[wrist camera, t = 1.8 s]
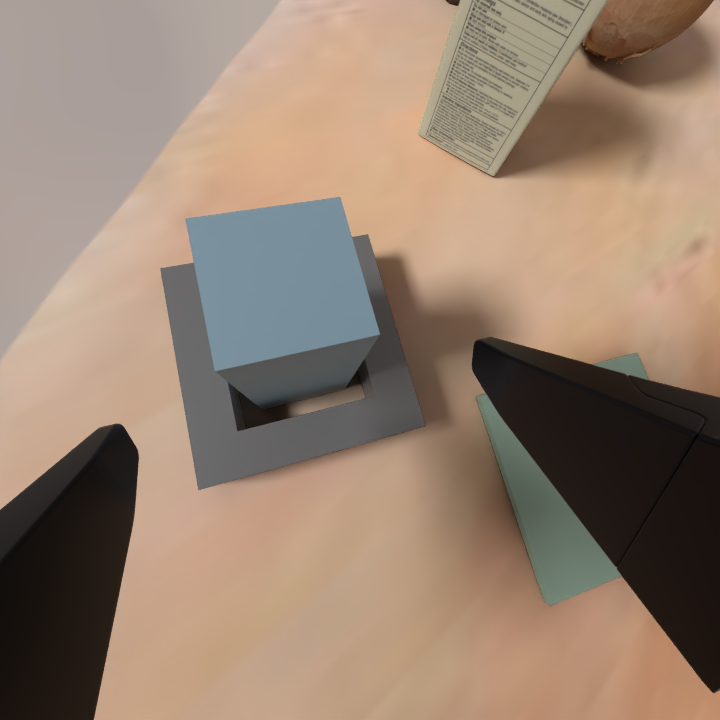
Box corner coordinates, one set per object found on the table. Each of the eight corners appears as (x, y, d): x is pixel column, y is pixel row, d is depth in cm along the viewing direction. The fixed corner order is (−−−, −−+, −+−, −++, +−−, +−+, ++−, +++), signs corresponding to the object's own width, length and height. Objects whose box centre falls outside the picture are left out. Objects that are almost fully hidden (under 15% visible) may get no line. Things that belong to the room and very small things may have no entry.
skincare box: (516, 139, 26) (693, -122, 14) (492, 180, 24) (664, -65, 13) (439, 92, 26) (550, -207, 14) (411, 132, 24) (508, -158, 13)
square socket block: (410, 428, 20) (425, 426, 17) (213, 484, 18) (198, 490, 15) (361, 258, 22) (367, 234, 19) (178, 290, 20) (160, 268, 17)
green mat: (706, 534, 21) (716, 536, 20) (544, 601, 19) (550, 606, 18) (630, 354, 23) (637, 352, 22) (475, 396, 21) (479, 395, 20)
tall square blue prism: (344, 389, 20) (380, 334, 10) (262, 409, 19) (214, 371, 9) (324, 313, 21) (340, 197, 11) (245, 329, 20) (185, 218, 10)
